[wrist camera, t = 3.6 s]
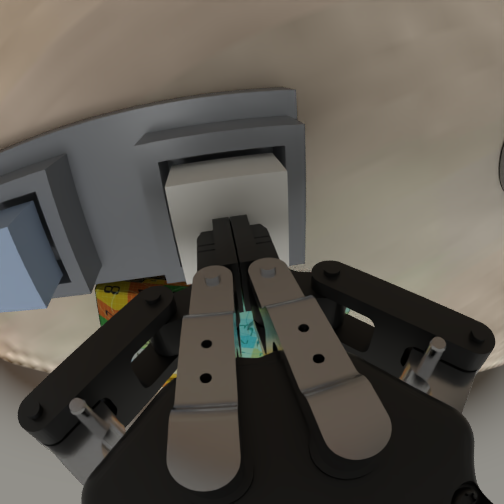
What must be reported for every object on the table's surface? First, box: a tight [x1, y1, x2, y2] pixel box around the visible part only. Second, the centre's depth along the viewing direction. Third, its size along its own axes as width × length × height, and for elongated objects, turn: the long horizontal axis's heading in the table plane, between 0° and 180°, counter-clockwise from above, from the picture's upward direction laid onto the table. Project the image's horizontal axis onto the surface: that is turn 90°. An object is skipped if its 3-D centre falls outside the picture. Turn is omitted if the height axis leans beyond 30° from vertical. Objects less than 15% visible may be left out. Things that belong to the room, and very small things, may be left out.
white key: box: [165, 153, 289, 285], centre depth 15 cm, size 5×5×3 cm
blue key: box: [0, 201, 63, 312], centre depth 13 cm, size 5×5×3 cm
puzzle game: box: [95, 279, 350, 387], centre depth 26 cm, size 12×5×20 cm
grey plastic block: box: [0, 87, 306, 298], centre depth 17 cm, size 22×11×6 cm, turn 94°
